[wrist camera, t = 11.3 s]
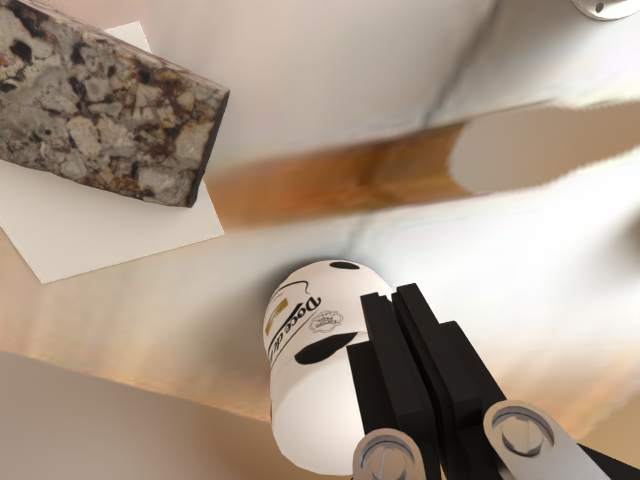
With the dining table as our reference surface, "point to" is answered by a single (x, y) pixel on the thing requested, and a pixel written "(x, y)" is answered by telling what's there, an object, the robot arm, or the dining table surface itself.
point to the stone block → (102, 108)
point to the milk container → (318, 362)
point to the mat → (93, 215)
